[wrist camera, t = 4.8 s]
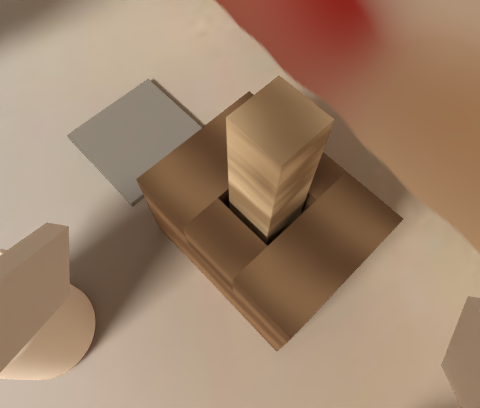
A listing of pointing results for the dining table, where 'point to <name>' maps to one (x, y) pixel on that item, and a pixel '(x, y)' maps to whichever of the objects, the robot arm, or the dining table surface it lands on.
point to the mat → (133, 136)
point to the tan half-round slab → (56, 341)
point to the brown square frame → (251, 246)
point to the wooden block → (273, 156)
